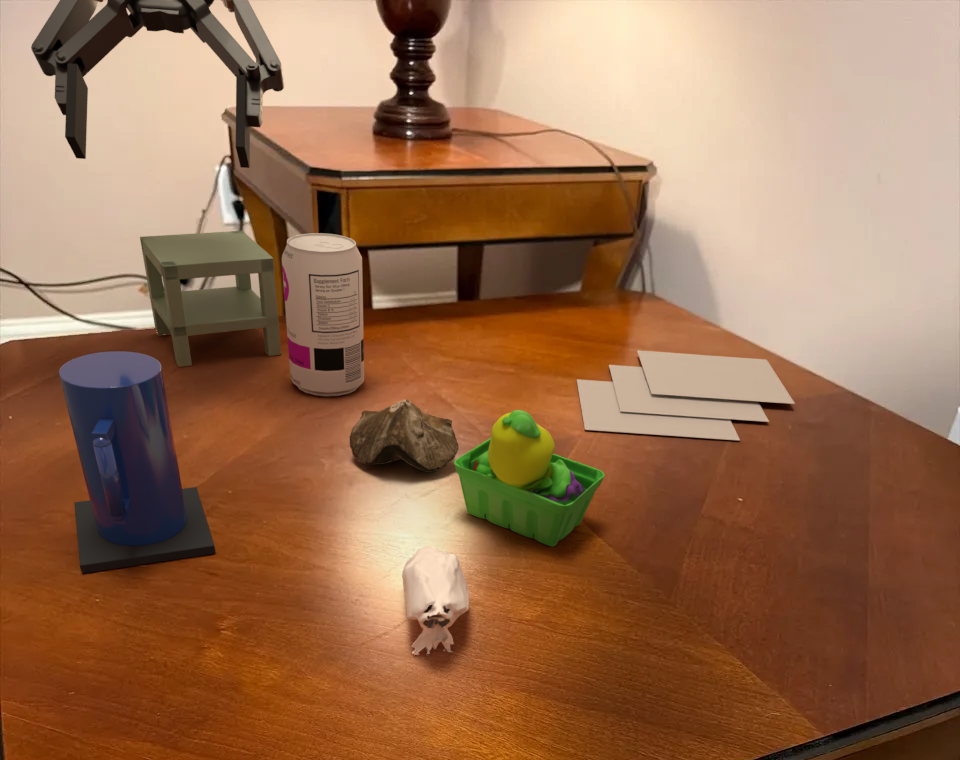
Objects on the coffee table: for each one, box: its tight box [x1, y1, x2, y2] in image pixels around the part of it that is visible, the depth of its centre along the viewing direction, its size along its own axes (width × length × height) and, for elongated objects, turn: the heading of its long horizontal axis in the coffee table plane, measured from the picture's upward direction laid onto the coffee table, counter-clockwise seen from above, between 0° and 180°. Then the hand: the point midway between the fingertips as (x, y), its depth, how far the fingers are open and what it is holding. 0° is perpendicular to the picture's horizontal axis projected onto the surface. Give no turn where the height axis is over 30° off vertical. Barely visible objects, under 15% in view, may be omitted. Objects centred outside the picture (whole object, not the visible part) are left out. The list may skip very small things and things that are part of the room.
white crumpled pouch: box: [401, 545, 470, 656], centre depth 63 cm, size 5×7×10 cm
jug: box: [58, 350, 187, 546], centre depth 66 cm, size 10×7×13 cm
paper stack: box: [576, 349, 796, 441], centre depth 101 cm, size 23×25×1 cm
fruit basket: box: [453, 409, 606, 548], centre depth 73 cm, size 11×9×11 cm
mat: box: [73, 486, 216, 574], centre depth 71 cm, size 10×10×1 cm
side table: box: [139, 230, 282, 368], centre depth 102 cm, size 12×12×11 cm
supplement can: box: [281, 232, 365, 397], centre depth 93 cm, size 8×8×15 cm
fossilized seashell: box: [349, 398, 459, 473], centre depth 83 cm, size 8×7×10 cm
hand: (160, 153), depth 73 cm, fingers open, 13 cm apart
